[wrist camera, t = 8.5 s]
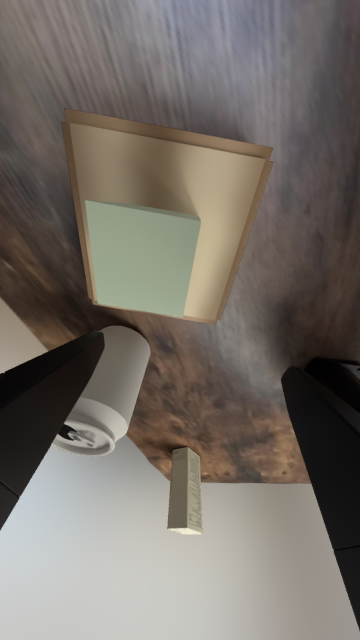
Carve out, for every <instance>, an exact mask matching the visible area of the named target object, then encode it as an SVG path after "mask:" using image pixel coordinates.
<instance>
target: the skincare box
mask: <svg viewBox="0 0 360 640" xmlns="http://www.w3.org/2000/svg"><path fill="white" fill-rule="evenodd" d="M168 514H169V515H168V527H167V529H169V530H173V531H176V532H179V533H182V534H203V528H202V504H201V480H200V457H199V456H198V455H197V454H196V453H195V452H193V451H192V450H191V449H190V448H188V447H186V448H179V449H175V450H173V453H172V468H171V484H170V498H169V513H168Z"/></svg>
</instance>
